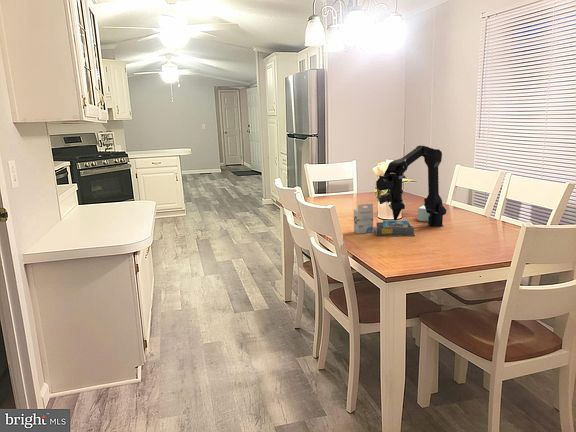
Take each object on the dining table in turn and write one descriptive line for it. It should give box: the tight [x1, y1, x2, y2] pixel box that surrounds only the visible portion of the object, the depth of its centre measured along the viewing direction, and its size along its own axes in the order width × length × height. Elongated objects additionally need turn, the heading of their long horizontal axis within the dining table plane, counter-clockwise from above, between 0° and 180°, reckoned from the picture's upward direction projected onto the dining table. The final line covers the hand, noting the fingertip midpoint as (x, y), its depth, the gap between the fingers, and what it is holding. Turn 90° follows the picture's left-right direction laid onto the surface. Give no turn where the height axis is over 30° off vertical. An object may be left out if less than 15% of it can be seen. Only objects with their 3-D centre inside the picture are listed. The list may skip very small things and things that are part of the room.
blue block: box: [382, 219, 409, 228], centre depth 214 cm, size 12×2×6 cm, turn 84°
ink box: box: [353, 203, 374, 235], centre depth 219 cm, size 9×5×15 cm, turn 105°
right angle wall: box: [417, 205, 429, 222], centre depth 242 cm, size 12×12×8 cm
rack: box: [373, 221, 416, 237], centre depth 219 cm, size 18×15×4 cm
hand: (395, 220), depth 214 cm, fingers closed
